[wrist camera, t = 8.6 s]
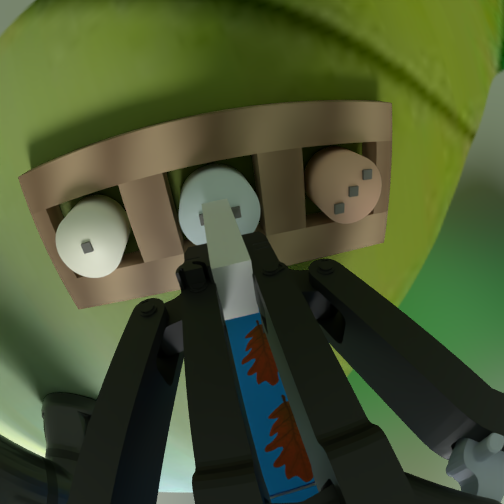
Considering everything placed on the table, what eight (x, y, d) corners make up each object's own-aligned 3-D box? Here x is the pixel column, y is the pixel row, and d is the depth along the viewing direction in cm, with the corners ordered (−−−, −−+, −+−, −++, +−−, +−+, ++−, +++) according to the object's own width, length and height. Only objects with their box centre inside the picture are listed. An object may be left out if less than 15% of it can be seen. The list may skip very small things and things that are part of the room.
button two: (188, 236, 20) (189, 259, 18) (173, 172, 18) (169, 186, 15) (254, 222, 21) (265, 243, 18) (245, 157, 18) (256, 169, 16)
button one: (84, 260, 20) (72, 285, 17) (61, 205, 17) (43, 224, 14) (138, 247, 20) (132, 271, 17) (118, 186, 17) (106, 203, 15)
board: (84, 294, 22) (78, 309, 20) (30, 169, 15) (18, 177, 13) (372, 231, 24) (383, 242, 23) (376, 100, 18) (391, 103, 16)
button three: (304, 212, 21) (321, 230, 19) (301, 149, 19) (320, 159, 16) (359, 202, 22) (380, 218, 19) (360, 144, 19) (384, 153, 17)
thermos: (196, 317, 25) (249, 601, 5) (304, 278, 26) (440, 541, 5) (233, 374, 31) (285, 571, 11) (318, 344, 32) (403, 531, 11)
